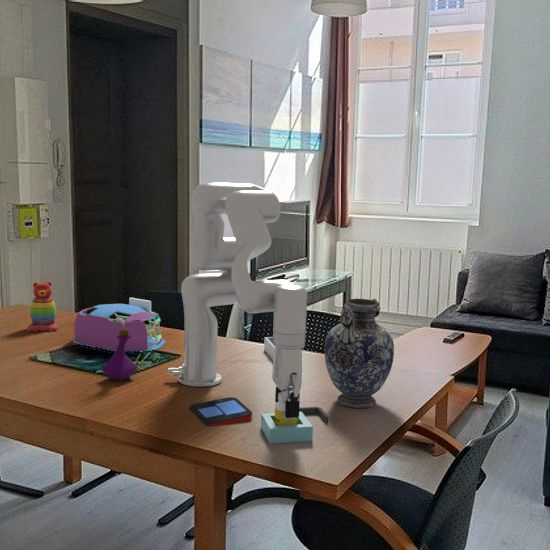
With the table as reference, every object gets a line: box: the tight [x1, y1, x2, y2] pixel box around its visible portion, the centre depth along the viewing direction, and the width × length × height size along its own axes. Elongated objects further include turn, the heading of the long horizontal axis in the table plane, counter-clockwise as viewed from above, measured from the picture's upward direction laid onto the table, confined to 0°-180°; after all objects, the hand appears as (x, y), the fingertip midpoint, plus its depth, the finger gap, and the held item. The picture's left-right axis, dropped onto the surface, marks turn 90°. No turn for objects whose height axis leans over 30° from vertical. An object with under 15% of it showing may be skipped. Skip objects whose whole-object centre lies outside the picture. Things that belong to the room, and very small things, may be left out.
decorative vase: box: [324, 298, 395, 409], centre depth 182 cm, size 21×19×28 cm
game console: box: [189, 396, 253, 427], centre depth 172 cm, size 14×13×2 cm
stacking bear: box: [26, 282, 59, 332], centre depth 256 cm, size 11×10×18 cm
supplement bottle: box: [274, 391, 298, 426], centre depth 159 cm, size 5×5×10 cm
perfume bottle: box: [101, 318, 138, 382], centre depth 196 cm, size 8×8×18 cm
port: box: [260, 412, 314, 445], centre depth 159 cm, size 10×10×4 cm
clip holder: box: [263, 336, 275, 361], centre depth 229 cm, size 8×16×4 cm, turn 13°
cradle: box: [299, 406, 329, 423], centre depth 170 cm, size 9×7×2 cm
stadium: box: [72, 297, 167, 352], centre depth 239 cm, size 35×24×14 cm
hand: (286, 409), depth 158 cm, fingers open, 9 cm apart
